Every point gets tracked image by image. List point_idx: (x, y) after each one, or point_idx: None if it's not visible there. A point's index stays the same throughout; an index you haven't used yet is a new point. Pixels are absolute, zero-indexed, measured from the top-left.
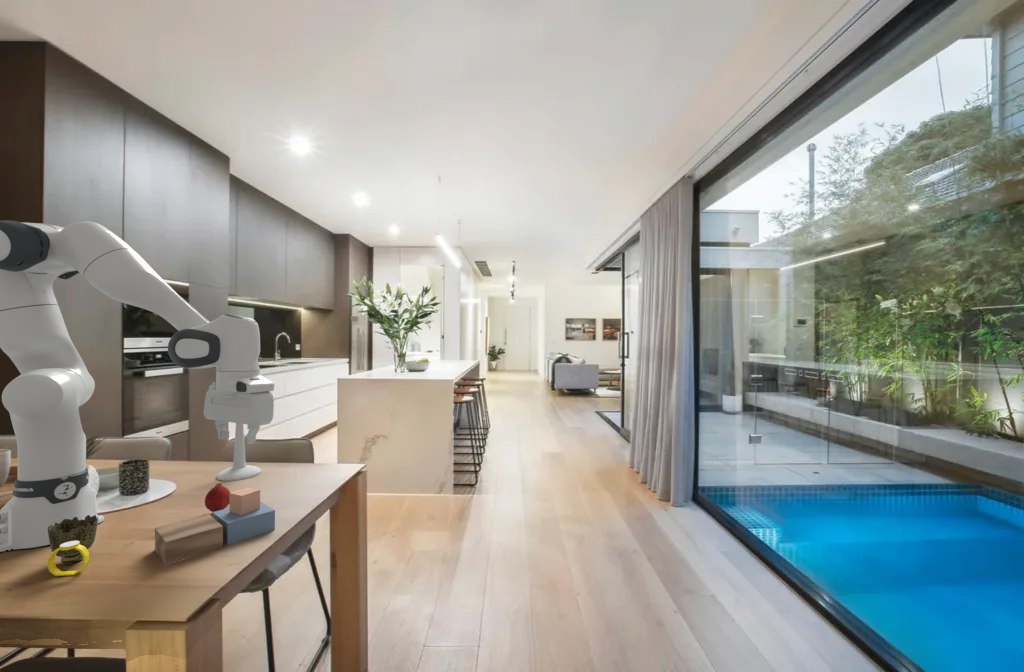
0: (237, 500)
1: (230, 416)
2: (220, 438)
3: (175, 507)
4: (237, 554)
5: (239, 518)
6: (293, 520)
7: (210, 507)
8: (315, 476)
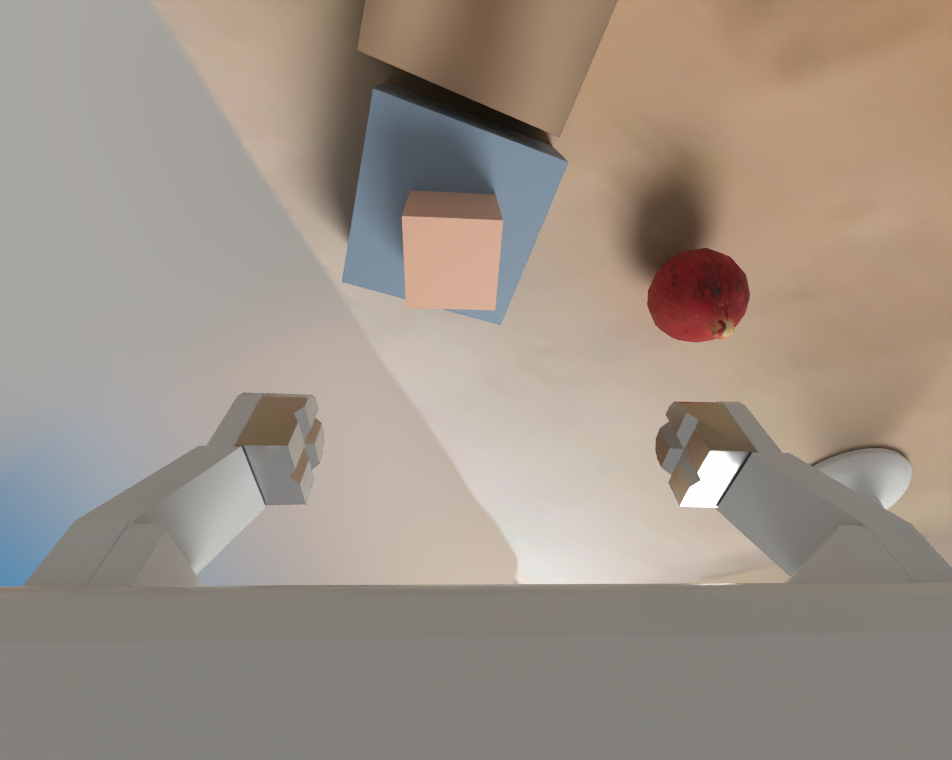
0: (440, 209)
1: (523, 712)
2: (707, 403)
3: (882, 252)
4: (255, 25)
5: (384, 158)
6: (371, 325)
7: (687, 251)
8: (598, 539)
